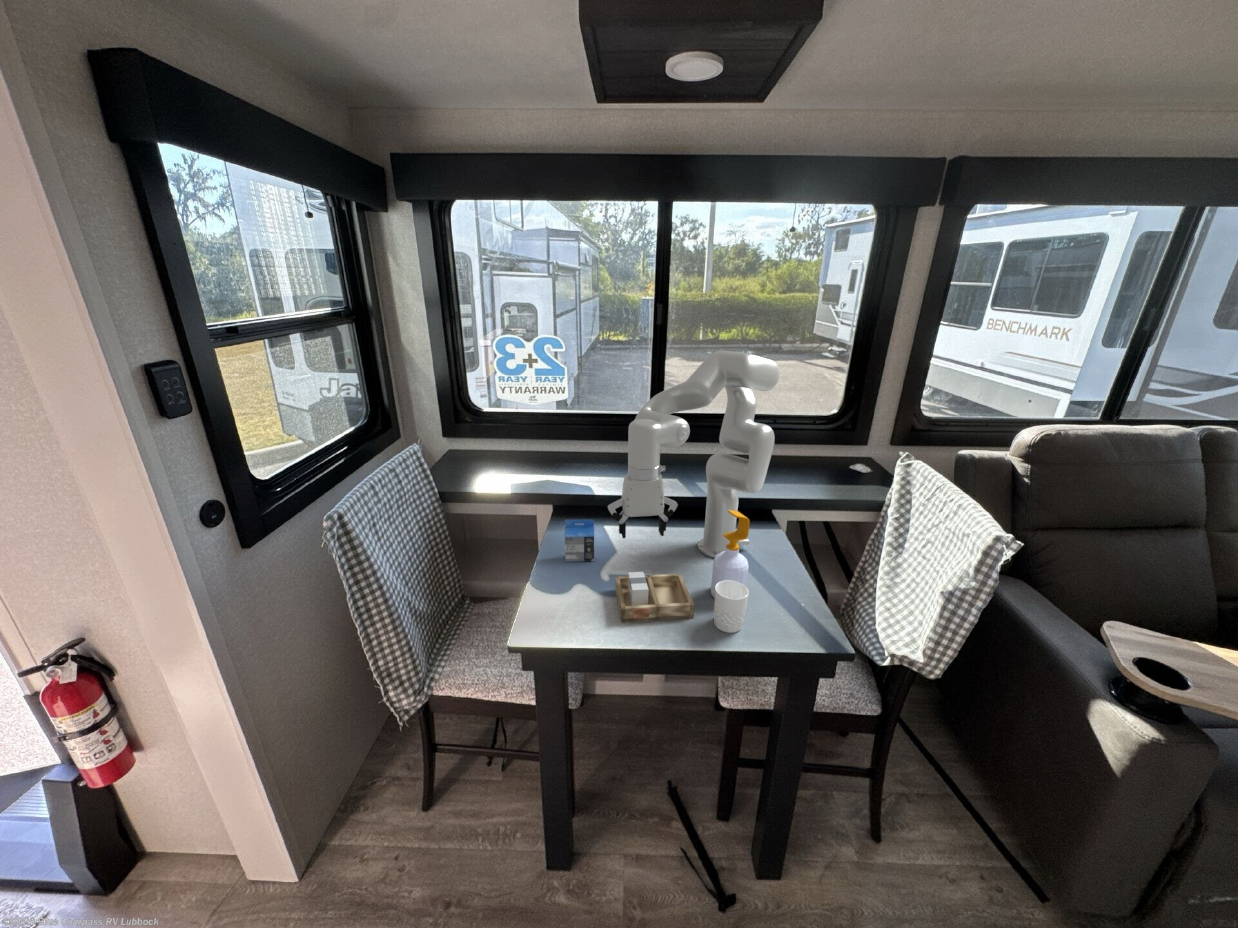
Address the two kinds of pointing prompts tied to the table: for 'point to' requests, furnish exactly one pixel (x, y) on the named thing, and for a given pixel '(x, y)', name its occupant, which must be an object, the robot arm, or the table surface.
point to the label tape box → (579, 540)
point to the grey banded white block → (637, 588)
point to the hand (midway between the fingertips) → (642, 534)
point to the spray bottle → (732, 556)
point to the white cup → (730, 605)
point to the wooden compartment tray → (656, 599)
